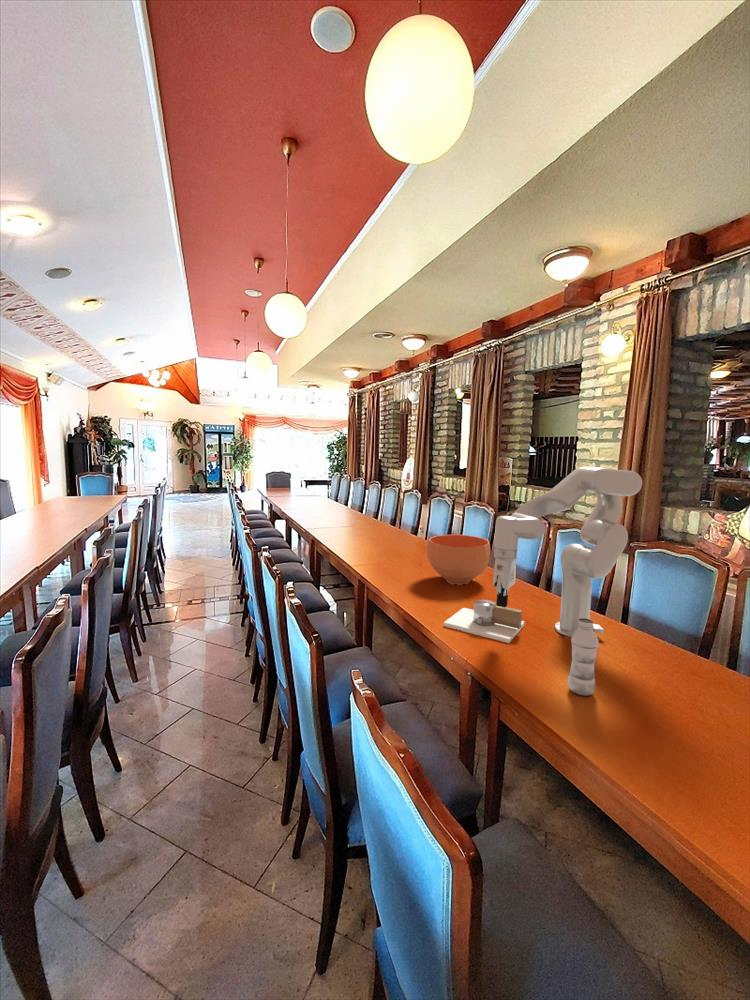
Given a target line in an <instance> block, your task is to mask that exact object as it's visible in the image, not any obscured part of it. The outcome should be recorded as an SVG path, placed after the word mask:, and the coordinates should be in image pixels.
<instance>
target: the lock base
mask: <svg viewBox="0 0 750 1000" xmlns="http://www.w3.org/2000/svg"><path fill="white" fill-rule="evenodd" d="M473 615H474V609H471V608H467V607H462V608H461V609H459V611H457V612H456V613H454V614H453V615H452V616H451V617H449V618H448V619H445V621H444V622H443V627H446V628H449V629H454V630H456V629H457V631H460V630H461V632H464V633H469V634H472V635H477V636H481V637H483V638H487V639H491V640H495V641H499V642H503V643H507V644H510V643H511V642H512V641H513V639H514V638H515V637H516V636H517V635H518V634H519V632H520V631H521V630H522V628H524V627H525V621H524V620H522V623H521V628H520V629H517V628H513V627H509V626H505V625H501V624H496V623H495V624H494V625H489V626H486V625H480V624H477V623H475V622H474V621H473Z"/></svg>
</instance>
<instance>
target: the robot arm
mask: <svg viewBox="0 0 750 1000" xmlns="http://www.w3.org/2000/svg"><path fill="white" fill-rule="evenodd" d="M642 485H643V478H642V477H641V475H640V474H639V473H638V472H636V471H634V470H625V469H614V468H605V467H593V466H580V467H577V468H575V469H574V470H572V471H571V472H570V473H569V474H568V475H566V477H564V478H563V479H562V480H561V481H560V482H558V483H557V484H556V485H554V487H552V488H551V489H550V490H549V491H547V492H545V493H542V494H541V495H538V496H537V497H534V498H532V499H530V500H528V501H526V502H525V503H523V504H522V505H521V506H519V508H517V509H516V510H515V511H514V512H513V513H512V514H511V515H499V516H497V518H496V520H495V528H494V529H495V530H494V531H495V532H494V545H493V557H494V558H495V561H494V566H493V576H492V586H493V587H494V588H496V589H495V592H496V602H495V603H496V605H497V606H501V607H508V599H509V595H508V594H509V589H510V588H511V587H512V586H514V585H515V584H516V575H517V574H516V573H517V572H516V571H517V570H516V569H517V567H516V566H517V564H516V563H517V562H516V561H517V559H518V548H519V547H518V546H519V539H523V540H530V541H531V540H532V541H534V540H538V539H540V538H542V537H543V536H544V534H545V533H546V527H545V523H544V522H543V521H542V520H541V519H539V518H541V517H543V516H547V515H550V514H557V513H561V512H562V513H563V512H565V511H567V510H569V509H571V507H573V506H574V504H576V503H577V502H578V501H579V500H581V498H582V499H583V497H584V496H585V495H586V494H588V493H592V494H596V503H595V506H594V507H593V510H592V511H591V512H590V514H589V516H588V517H587V519H586V521H585V522H584V524H583V525H582V527H581V529H580V532H579V536H580V538H581V540H582V541H583V542H584V543H585V544H588V545H591V546H594V548H593V547H590V546H586V545H583V544H579V543H570V544H568V545H566V546H565V547H563V549H562V550H561V554H560V565H561V572H562V578H561V579H562V580H561V582H562V583H561V595H560V596H561V597H560V598H561V599H560V600H561V601H560V615H559V621H558V622H556V623H555V624H554V629H555V631H556V632H557V633H559V634H561V635H564V636H566V637H570V638H571V637H572V634H573V633H574V632H575V631H576V630H577V629H578V626H577V624H578V619H579V618H586V619H590V620H591V616H590V615H591V605H592V591H593V590H592V589H593V583H592V579H595V580H598V579H599V580H600V579H603V578H605V577H607V575H608V574H610V572H611V570H612V569H613V567H615V565H616V563H617V562H618V560H619V559H620V556H621V555H622V554H623V552H624V550H625V548H626V546H627V544H628V540H629V534H628V530H627V529H626V527H625V526H624V525H622V524H620V523H618V520H619V519H620V517H621V515H622V514H623V513H622V512H623V503H622V499H621V497H622V496H623V497H631V496H634V495H637V494H638V493H639V492H640V491H641V489H642ZM593 626H594V629H593V632H594V633H598V634H601V635H603V633H604V628H603V627H601V625H599V624H594V625H593Z"/></svg>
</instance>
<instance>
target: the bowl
mask: <svg viewBox="0 0 750 1000" xmlns="http://www.w3.org/2000/svg"><path fill="white" fill-rule="evenodd" d="M490 543H491V542H490V540H488V539H486V538H484V537H480V536H475V535H469V534H468V535H467V534H441V535H435V536H431V537H430V538H429V539H428V542H427V548H426V553H427V554H426V556H427V559H428V562H429V565H430V566H431V567H432V569H433V571H435V572H436V573H437V574H438V575H439V576H441V577H442V578H443V579H445V582H446V581H447V582H448V584H450V585H454V584H457V585H456V586H463V585H462V584H466V585H468V584H470V581H472V580H473V579H475V578H477V577H478V576H480V575H482V574H483V573H484V572H485V570H486V569H487V568H488V567H489V564H490V561H491V553H492V552H491V551H492V550H491V544H490ZM447 582H446V583H447Z"/></svg>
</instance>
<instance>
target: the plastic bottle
mask: <svg viewBox="0 0 750 1000" xmlns="http://www.w3.org/2000/svg"><path fill="white" fill-rule="evenodd" d="M593 625H595V623H594V621H593V619H591V618H590V619H586V618H579V619H578V624H577V626H578V629H577V630H576V631H575V632H574V633H573V634H572V637H570V643H571V665H570V669H569V670H570V671H569V674H568V676H567V685H568V687H569V689H570V691H571V692H573V693H574V694H576V695H580V696H591V695H592V694H593V693H594V692H595V689H596V679H595V678H596V677H595V663H596V657H597V652H598V648H599V638H598V637H597V634H596V632H593V629H594V626H593Z"/></svg>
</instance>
